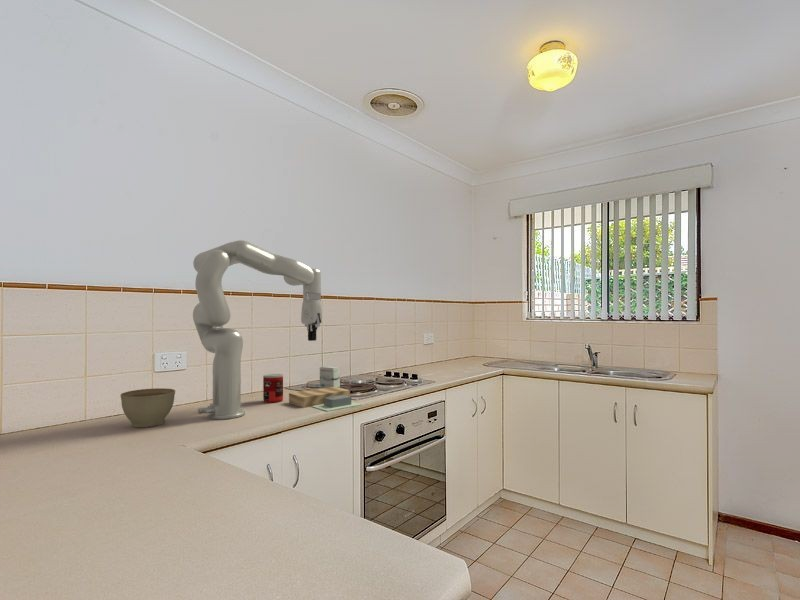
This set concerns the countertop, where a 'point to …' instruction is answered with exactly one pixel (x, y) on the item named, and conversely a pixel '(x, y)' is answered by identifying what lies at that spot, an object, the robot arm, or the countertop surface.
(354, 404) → the sage mat
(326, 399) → the gray rectangular block
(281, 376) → the canned food
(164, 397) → the planter bowl
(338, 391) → the oak block
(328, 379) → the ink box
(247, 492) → the countertop surface
